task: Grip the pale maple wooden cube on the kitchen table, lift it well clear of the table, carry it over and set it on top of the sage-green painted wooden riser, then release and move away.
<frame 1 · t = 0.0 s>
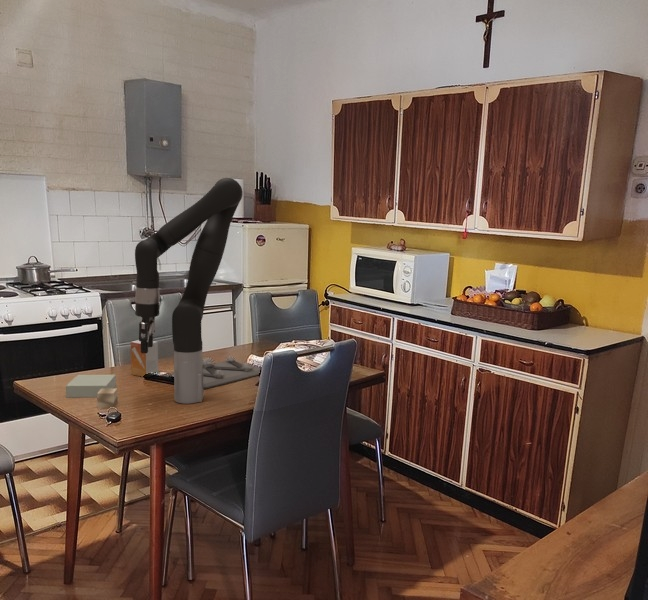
hand: (146, 349, 190), 17 cm above the table, tool pointing down, fingers open, 8 cm apart
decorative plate: (218, 377, 223), on the table
riser: (92, 391, 201), on the table
maple cube: (107, 405, 187), on the table
small box: (144, 375, 222), on the table
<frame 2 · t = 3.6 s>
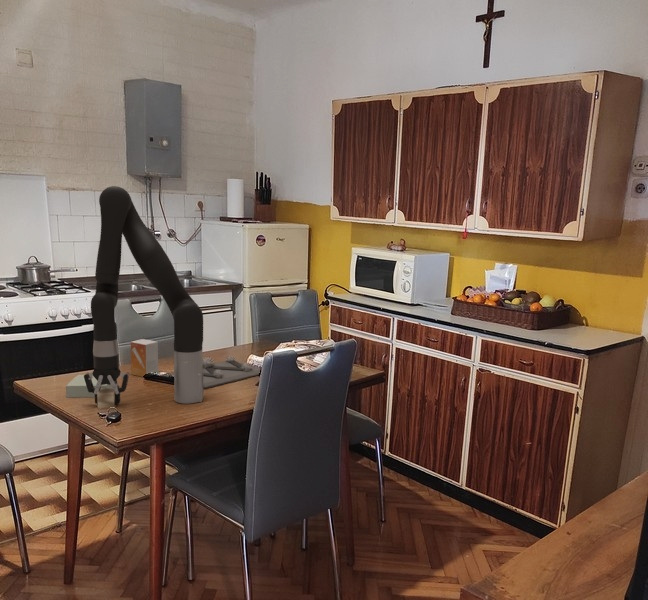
hand: (107, 404, 187), 0 cm above the table, tool pointing down, fingers closed on maple cube, 5 cm apart
maple cube: (107, 405, 187), on the table, touching gripper
everything else where it was.
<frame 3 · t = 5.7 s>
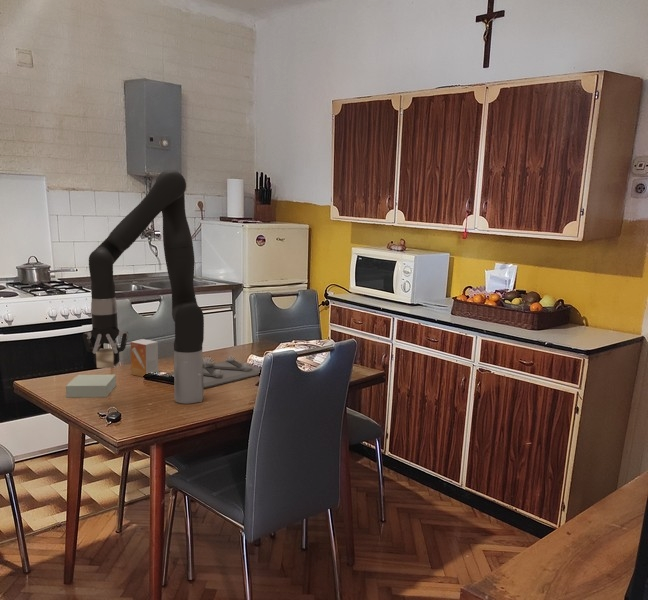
hand: (106, 364, 185), 14 cm above the table, tool pointing down, fingers closed on maple cube, 5 cm apart
maple cube: (107, 365, 185), point 13 cm above the table, touching gripper
everything else where it was.
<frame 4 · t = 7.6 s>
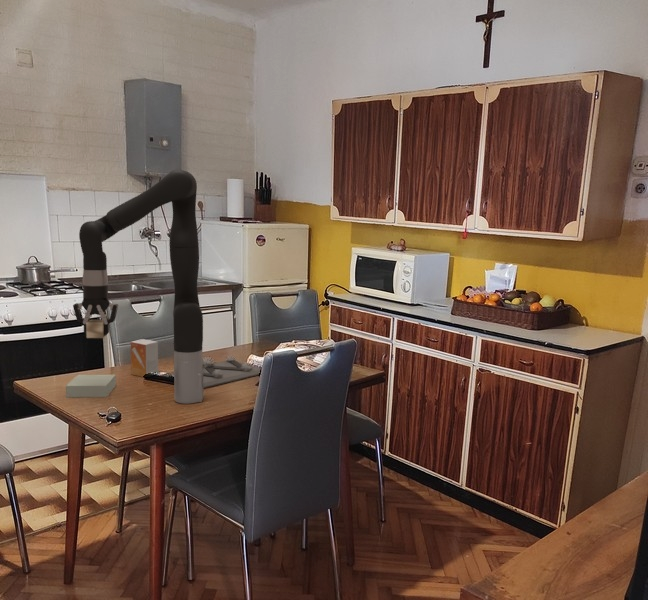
hand: (96, 334, 190), 22 cm above the table, tool pointing down, fingers closed on maple cube, 5 cm apart
maple cube: (96, 336, 190), point 21 cm above the table, touching gripper
everything else where it was.
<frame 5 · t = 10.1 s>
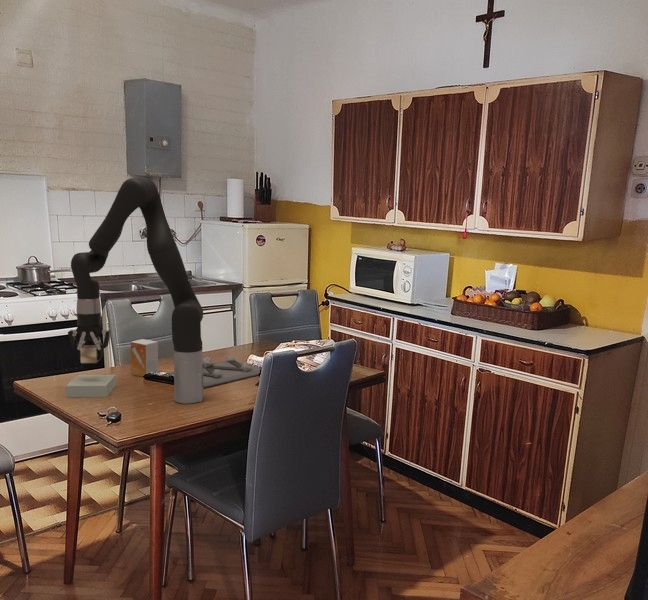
hand: (90, 359, 199), 11 cm above the table, tool pointing down, fingers closed on maple cube, 5 cm apart
maple cube: (90, 361, 199), point 11 cm above the table, touching gripper
everything else where it was.
when the fingers open (6 cm above the table, at t = 12.0 s): maple cube drops 1 cm, resting on riser.
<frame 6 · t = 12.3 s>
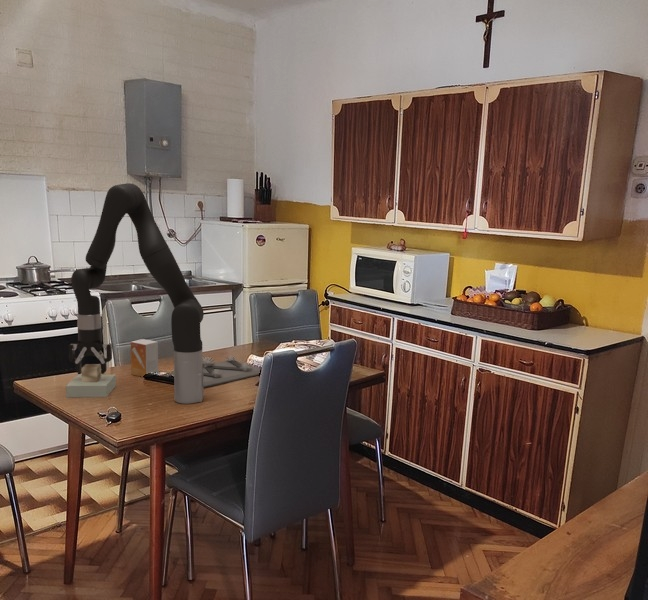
hand: (91, 373, 200), 6 cm above the table, tool pointing down, fingers open, 7 cm apart
maple cube: (91, 380, 200), point 4 cm above the table, touching riser
everything else where it was.
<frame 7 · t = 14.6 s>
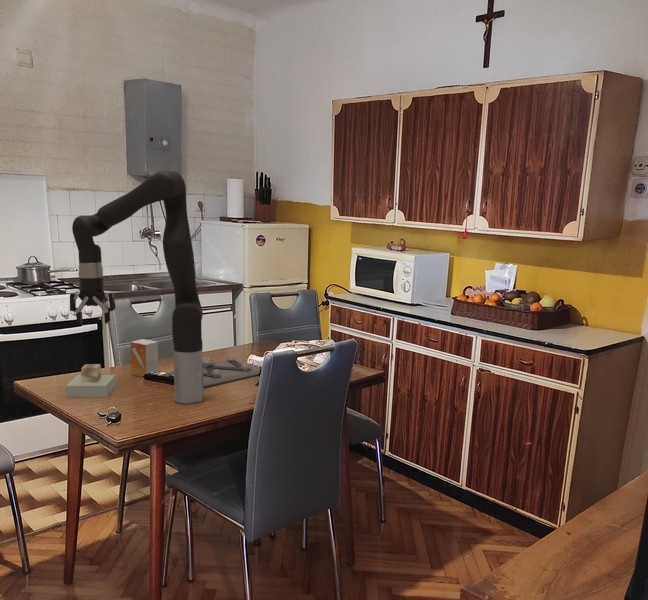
hand: (93, 323, 196), 24 cm above the table, tool pointing down, fingers open, 8 cm apart
nothing on the table moved.
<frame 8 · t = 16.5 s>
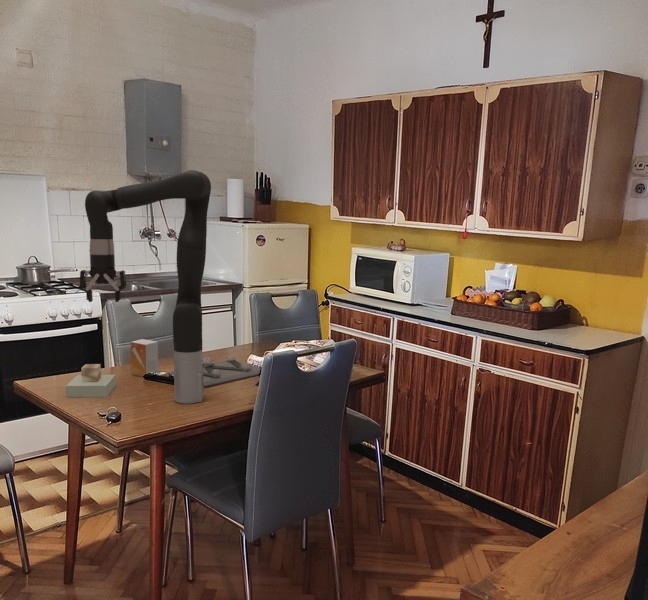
hand: (103, 301, 192), 32 cm above the table, tool pointing down, fingers open, 8 cm apart
at the end: maple cube inside the target area on the riser (0.1 cm from its centre), point 4.0 cm above the riser's base; maple cube tilted 0°; the gripper is holding nothing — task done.
